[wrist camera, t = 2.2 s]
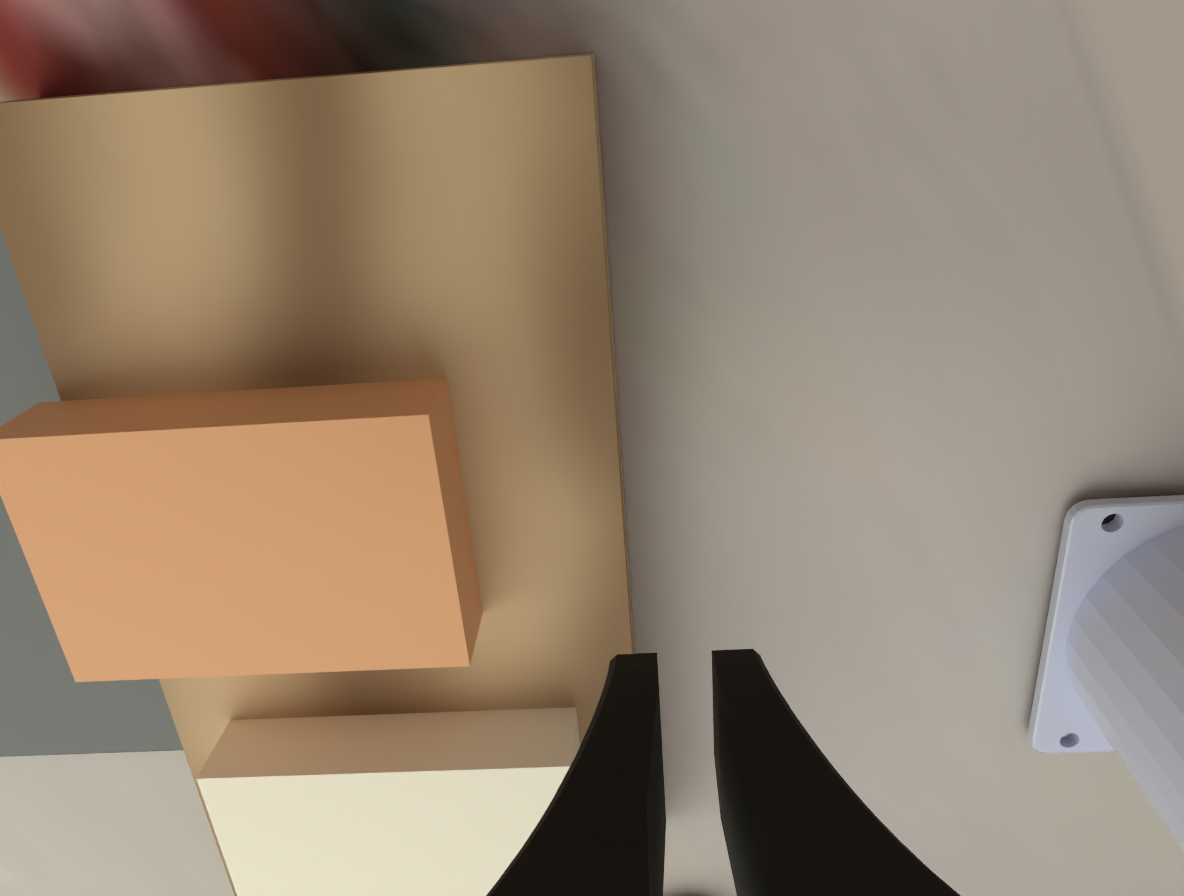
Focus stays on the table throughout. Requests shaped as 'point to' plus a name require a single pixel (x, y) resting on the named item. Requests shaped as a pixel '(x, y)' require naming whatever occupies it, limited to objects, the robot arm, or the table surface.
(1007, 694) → the table surface
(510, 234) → the deck
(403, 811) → the cream rectangular block
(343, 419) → the orange rectangular block
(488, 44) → the table surface
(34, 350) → the mat
